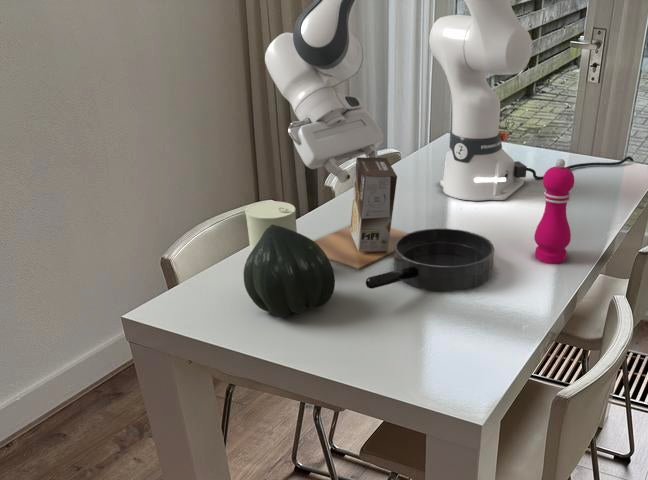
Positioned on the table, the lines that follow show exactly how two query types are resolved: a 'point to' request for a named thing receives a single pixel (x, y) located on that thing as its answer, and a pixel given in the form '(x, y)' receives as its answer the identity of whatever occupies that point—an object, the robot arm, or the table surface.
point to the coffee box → (372, 203)
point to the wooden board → (353, 249)
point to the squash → (288, 272)
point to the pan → (445, 259)
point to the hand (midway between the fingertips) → (362, 174)
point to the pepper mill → (554, 215)
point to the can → (268, 218)
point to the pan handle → (391, 277)
